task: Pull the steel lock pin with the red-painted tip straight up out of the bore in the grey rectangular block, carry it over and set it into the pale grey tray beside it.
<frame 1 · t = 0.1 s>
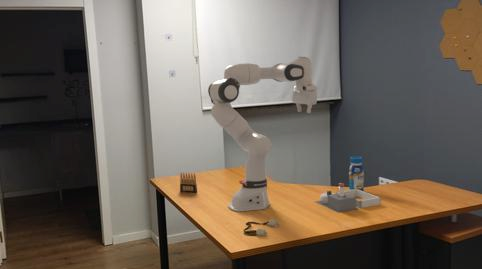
hand: (304, 112, 257), 48 cm above the table, tool pointing down, fingers open, 8 cm apart
ammunition clip: (188, 192, 283), on the table
grey rectangular block: (335, 208, 241), on the table
cable: (257, 230, 213), on the table
lock pin: (341, 207, 236), point 1 cm above the table, touching grey rectangular block
beverage bottle: (356, 191, 271), on the table
tray: (358, 204, 246), on the table
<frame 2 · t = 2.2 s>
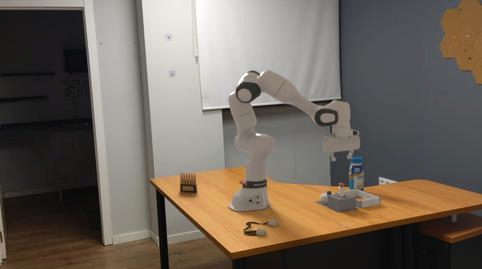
hand: (341, 159, 232), 26 cm above the table, tool pointing down, fingers open, 8 cm apart
nothing on the table moved.
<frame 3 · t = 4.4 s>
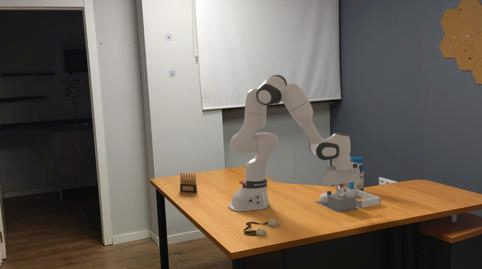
hand: (341, 192, 235), 10 cm above the table, tool pointing down, fingers closed on lock pin, 2 cm apart
lock pin: (341, 207, 236), point 2 cm above the table, touching gripper, grey rectangular block
everything else where it was.
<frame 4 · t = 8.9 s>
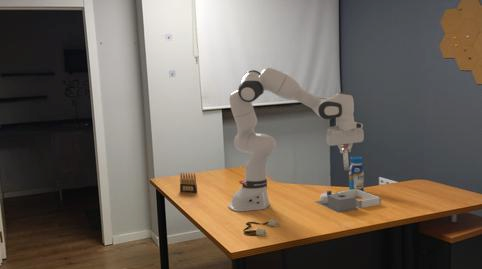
hand: (345, 152, 234), 29 cm above the table, tool pointing down, fingers closed on lock pin, 2 cm apart
lock pin: (346, 170, 234), point 21 cm above the table, tilted 6°, touching gripper
everything else where it was.
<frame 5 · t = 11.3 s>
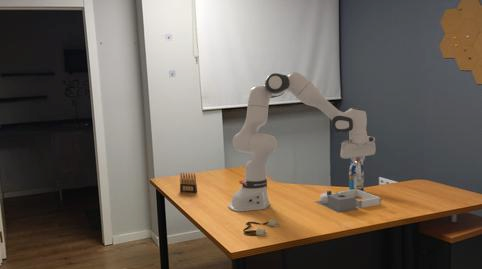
hand: (358, 165, 244), 21 cm above the table, tool pointing down, fingers closed on lock pin, 2 cm apart
lock pin: (359, 181, 244), point 12 cm above the table, tilted 6°, touching gripper
everything else where it was.
when the fingers open (12 cm above the table, at t = 13.2 s): lock pin drops 2 cm, resting on tray.
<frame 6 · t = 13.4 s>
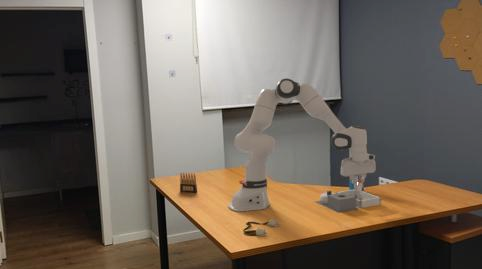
hand: (358, 182, 245), 12 cm above the table, tool pointing down, fingers open, 4 cm apart
lock pin: (359, 202, 245), point 1 cm above the table, touching tray
everything else where it was.
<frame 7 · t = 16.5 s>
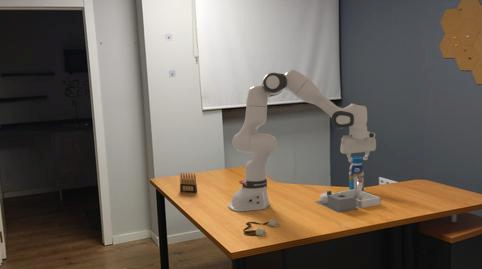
hand: (358, 160, 242), 23 cm above the table, tool pointing down, fingers open, 8 cm apart
nothing on the table moved.
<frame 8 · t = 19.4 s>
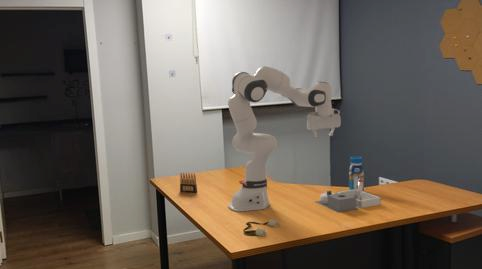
hand: (323, 136, 258), 34 cm above the table, tool pointing down, fingers open, 8 cm apart
nothing on the table moved.
at the end: lock pin inside the target area on the tray (1.0 cm from its centre), point 1.1 cm above the tray's base; the gripper is holding nothing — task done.
